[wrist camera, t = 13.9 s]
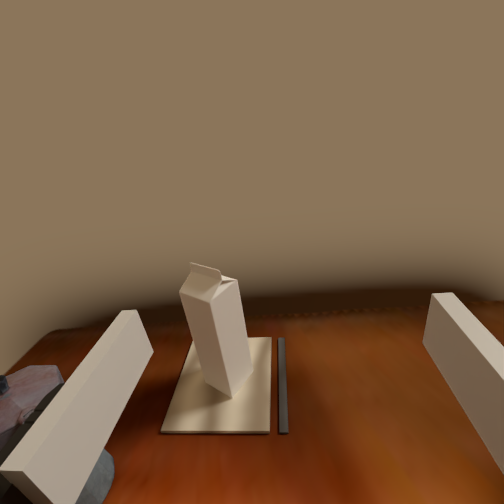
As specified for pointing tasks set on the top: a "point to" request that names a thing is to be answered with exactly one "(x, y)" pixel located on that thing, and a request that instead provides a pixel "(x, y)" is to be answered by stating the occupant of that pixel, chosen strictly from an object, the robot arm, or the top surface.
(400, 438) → the top surface
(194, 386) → the mat
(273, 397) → the top surface
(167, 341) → the top surface
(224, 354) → the milk
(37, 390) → the moka pot
